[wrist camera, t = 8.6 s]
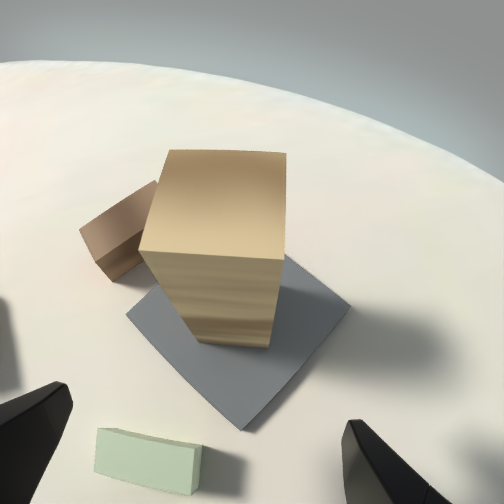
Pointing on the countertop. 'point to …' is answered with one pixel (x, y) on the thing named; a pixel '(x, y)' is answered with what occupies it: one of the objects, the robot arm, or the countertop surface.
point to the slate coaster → (244, 358)
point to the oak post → (220, 241)
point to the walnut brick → (119, 233)
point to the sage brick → (148, 460)
